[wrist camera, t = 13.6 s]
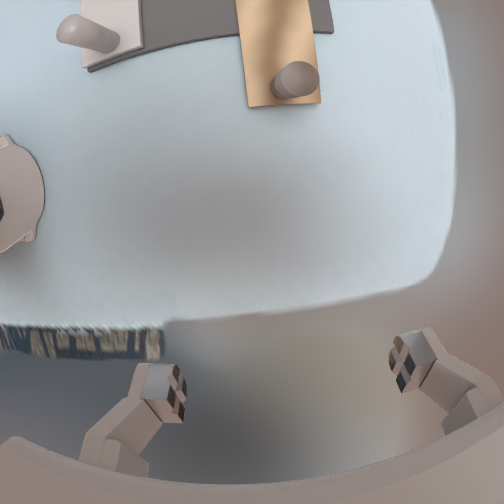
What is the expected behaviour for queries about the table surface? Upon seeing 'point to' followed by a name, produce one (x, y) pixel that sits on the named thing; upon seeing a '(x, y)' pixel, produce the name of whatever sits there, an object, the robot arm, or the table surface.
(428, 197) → the table surface
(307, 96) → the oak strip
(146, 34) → the lane mat
